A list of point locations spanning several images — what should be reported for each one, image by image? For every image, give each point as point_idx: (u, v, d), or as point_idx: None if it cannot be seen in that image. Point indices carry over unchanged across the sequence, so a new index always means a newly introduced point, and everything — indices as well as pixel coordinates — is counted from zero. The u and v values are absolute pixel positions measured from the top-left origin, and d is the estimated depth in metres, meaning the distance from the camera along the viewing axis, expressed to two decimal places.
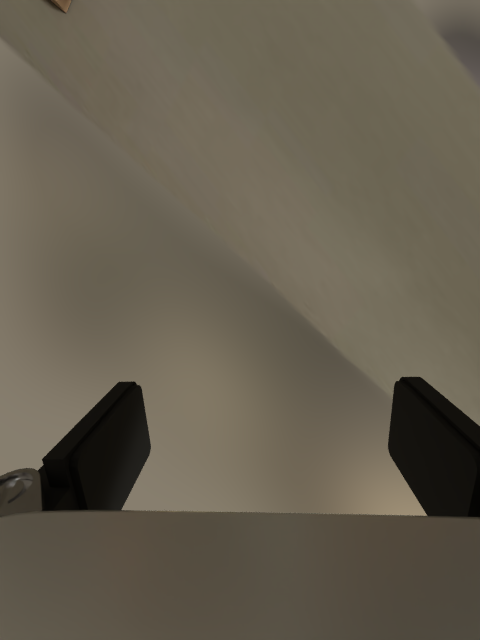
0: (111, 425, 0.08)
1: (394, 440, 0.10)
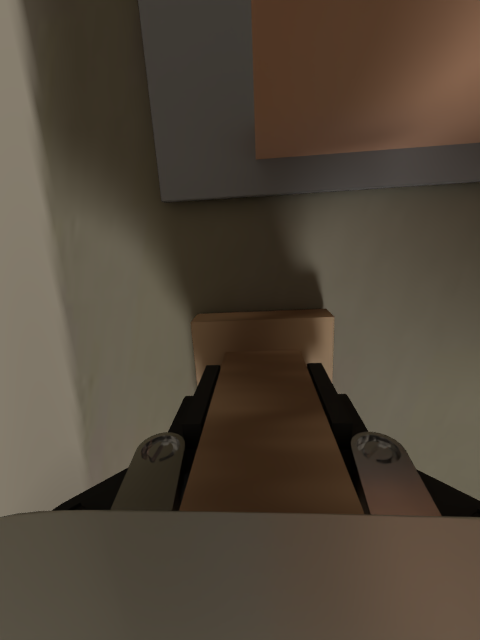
0: None
1: None
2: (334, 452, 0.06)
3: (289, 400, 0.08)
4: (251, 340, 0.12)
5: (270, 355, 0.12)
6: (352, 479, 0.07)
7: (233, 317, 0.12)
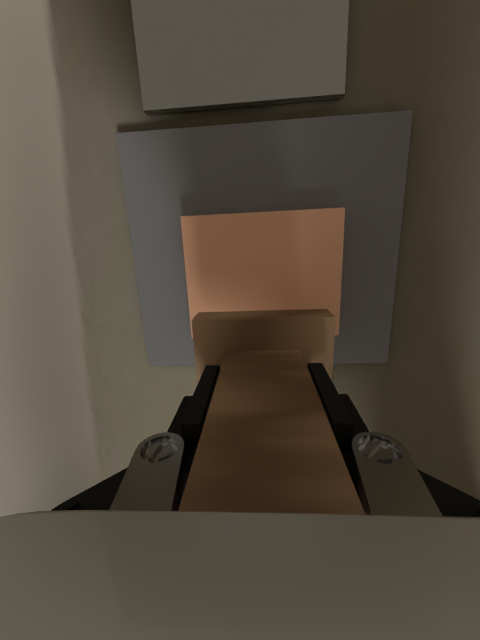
0: None
1: None
2: (335, 452, 0.06)
3: (289, 399, 0.08)
4: (251, 340, 0.12)
5: (271, 354, 0.12)
6: (353, 479, 0.07)
7: (234, 316, 0.12)
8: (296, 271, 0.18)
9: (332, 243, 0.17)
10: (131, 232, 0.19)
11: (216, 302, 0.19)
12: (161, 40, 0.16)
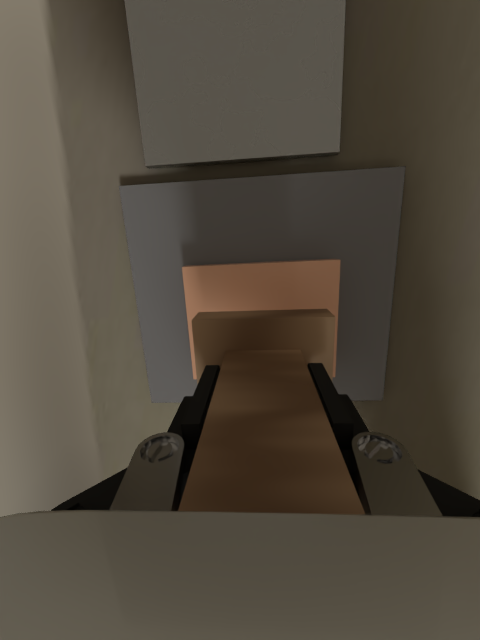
0: None
1: None
2: (335, 452, 0.06)
3: (289, 399, 0.08)
4: (251, 339, 0.12)
5: (271, 354, 0.12)
6: (353, 479, 0.07)
7: (234, 316, 0.12)
8: None
9: (328, 292, 0.18)
10: (134, 278, 0.20)
11: None
12: (162, 101, 0.17)
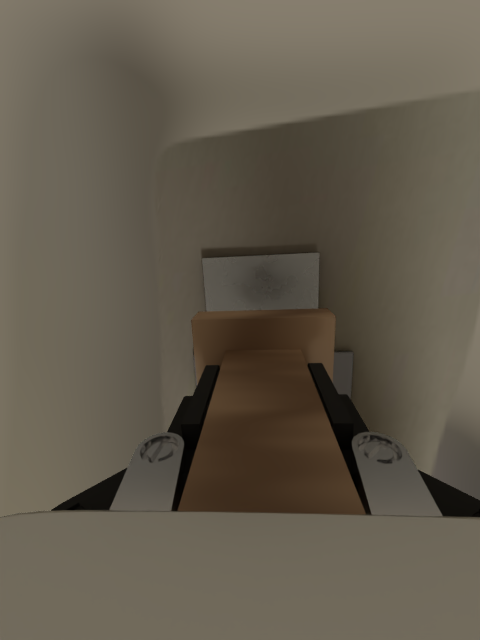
0: None
1: None
2: (335, 452, 0.06)
3: (289, 399, 0.08)
4: (251, 339, 0.12)
5: (271, 354, 0.11)
6: (353, 479, 0.07)
7: (234, 315, 0.12)
8: None
9: None
10: None
11: None
12: None
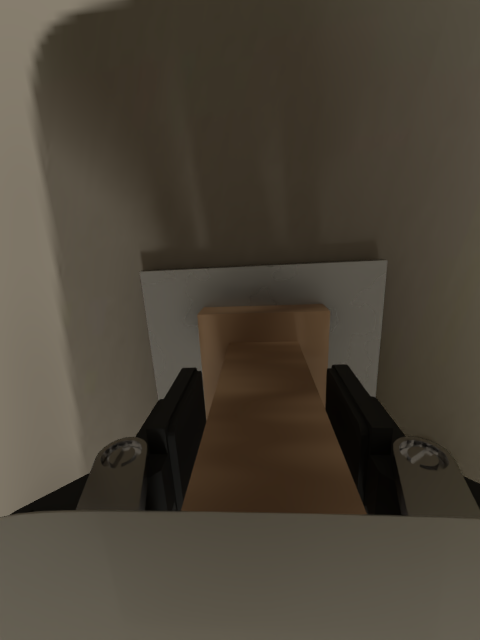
0: (188, 404, 0.09)
1: None
2: (326, 423, 0.07)
3: (287, 383, 0.09)
4: (252, 332, 0.13)
5: (270, 346, 0.12)
6: None
7: (236, 310, 0.13)
8: None
9: None
10: None
11: None
12: None
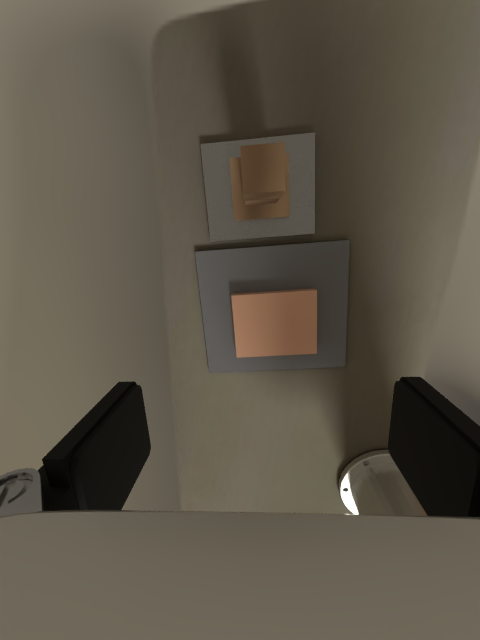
0: (111, 425, 0.08)
1: (394, 440, 0.10)
2: None
3: None
4: None
5: None
6: None
7: None
8: (293, 321, 0.34)
9: (311, 307, 0.33)
10: (201, 301, 0.35)
11: (250, 338, 0.35)
12: (220, 209, 0.31)
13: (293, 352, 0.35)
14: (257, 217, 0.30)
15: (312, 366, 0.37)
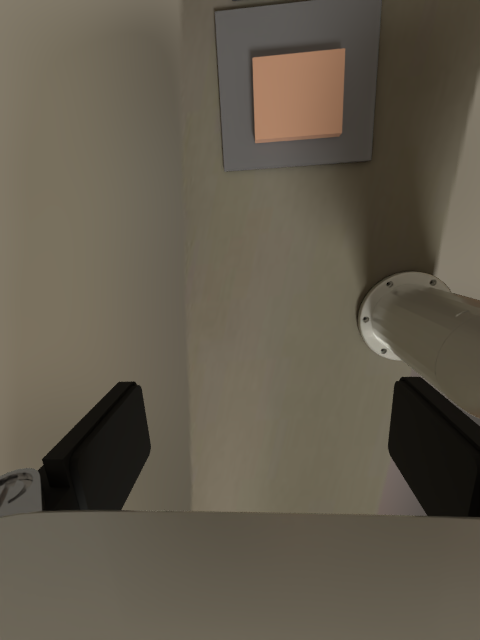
0: (111, 425, 0.08)
1: (394, 440, 0.10)
2: None
3: None
4: None
5: None
6: None
7: None
8: (317, 90, 0.31)
9: (338, 71, 0.31)
10: (219, 76, 0.33)
11: (270, 114, 0.32)
12: None
13: (316, 131, 0.32)
14: None
15: (335, 160, 0.34)
